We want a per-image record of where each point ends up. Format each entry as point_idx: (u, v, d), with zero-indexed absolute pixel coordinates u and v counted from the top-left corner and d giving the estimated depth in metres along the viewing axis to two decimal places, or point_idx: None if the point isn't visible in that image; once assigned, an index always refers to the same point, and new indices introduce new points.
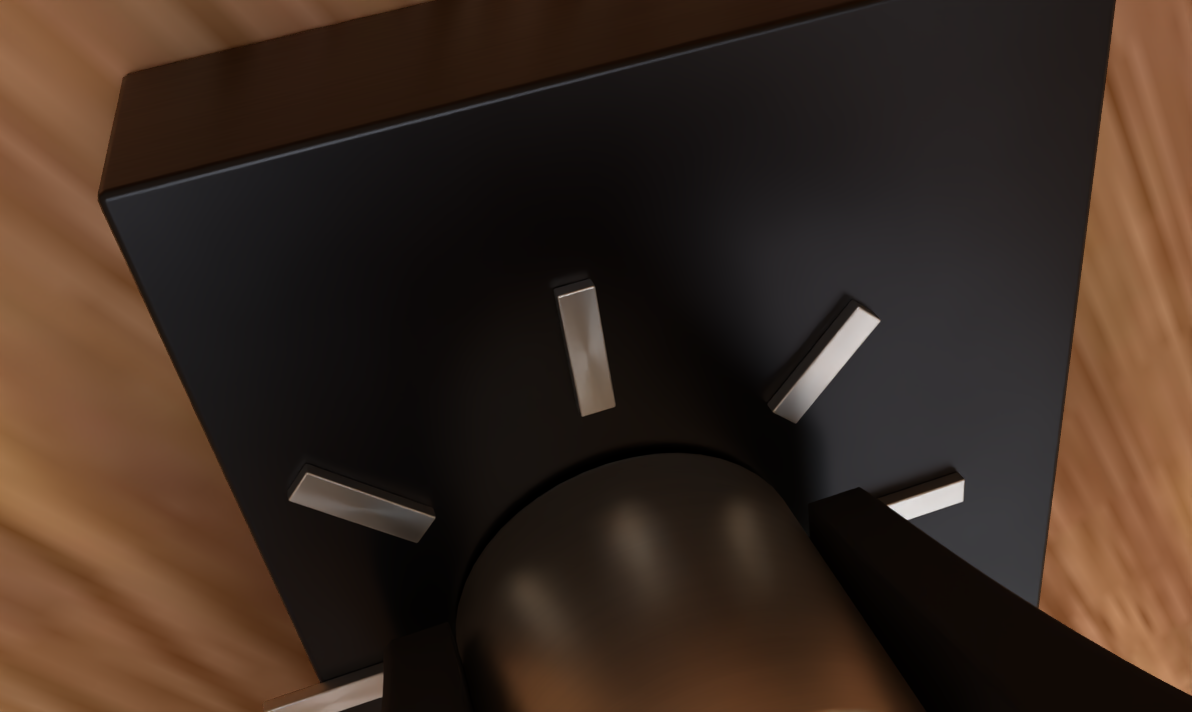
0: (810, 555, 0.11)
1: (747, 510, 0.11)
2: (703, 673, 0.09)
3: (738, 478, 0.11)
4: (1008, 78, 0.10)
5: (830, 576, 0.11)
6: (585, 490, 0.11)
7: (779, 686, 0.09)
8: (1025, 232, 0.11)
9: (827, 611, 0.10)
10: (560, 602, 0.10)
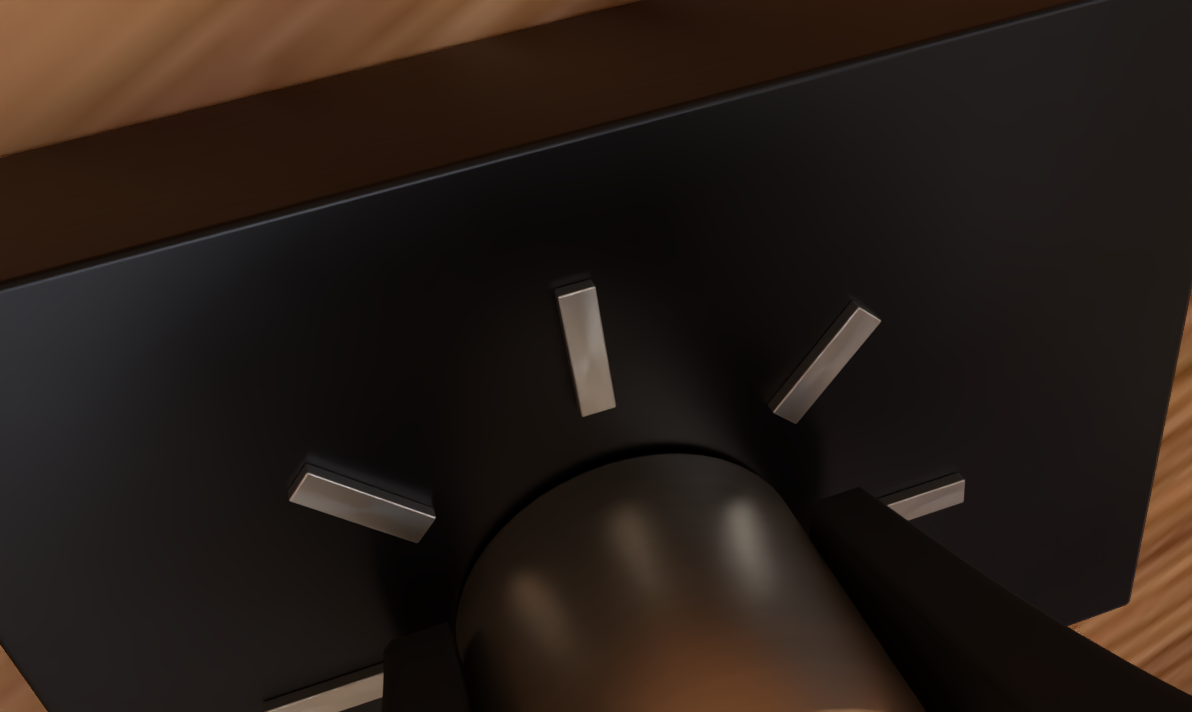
0: (810, 555, 0.11)
1: (747, 510, 0.11)
2: (704, 673, 0.09)
3: (738, 479, 0.11)
4: None
5: (830, 576, 0.11)
6: (586, 490, 0.11)
7: (779, 685, 0.09)
8: (193, 323, 0.09)
9: (825, 611, 0.10)
10: (561, 602, 0.10)
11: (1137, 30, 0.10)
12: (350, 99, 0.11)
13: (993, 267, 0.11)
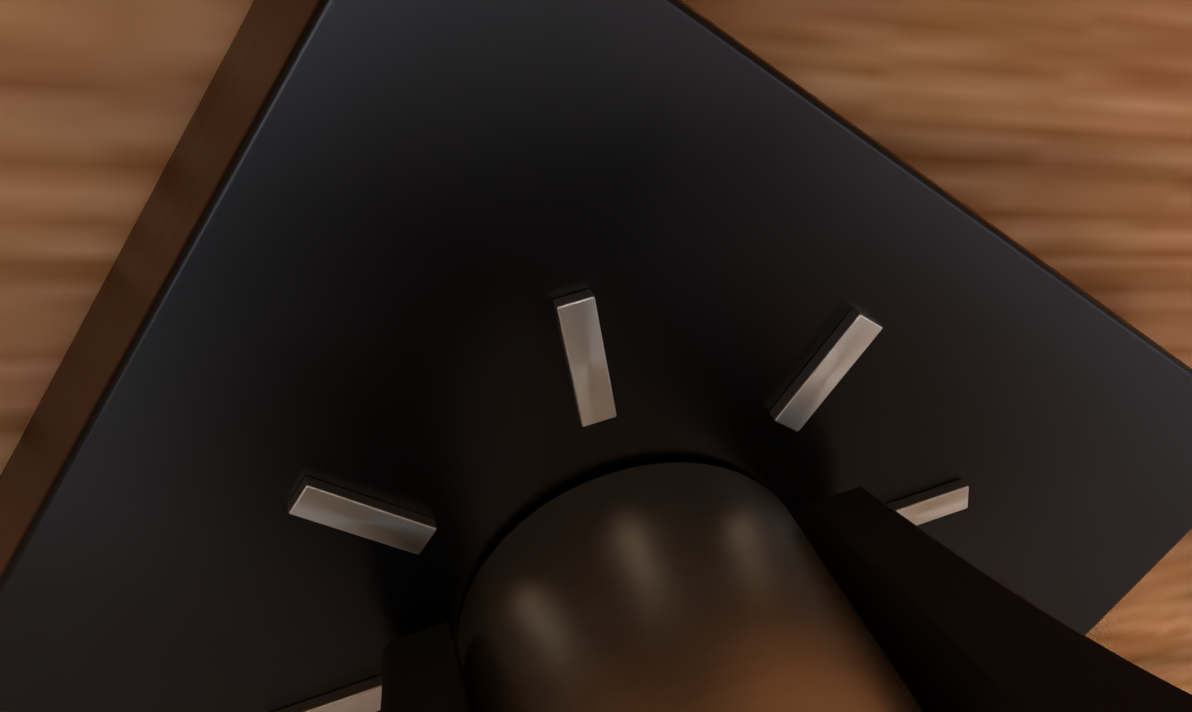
0: (812, 564, 0.11)
1: (748, 519, 0.11)
2: (705, 686, 0.09)
3: (739, 487, 0.11)
4: (468, 35, 0.08)
5: (833, 585, 0.11)
6: (586, 501, 0.11)
7: (780, 698, 0.09)
8: (663, 107, 0.09)
9: (828, 623, 0.10)
10: (561, 614, 0.10)
11: None
12: None
13: (1032, 525, 0.14)
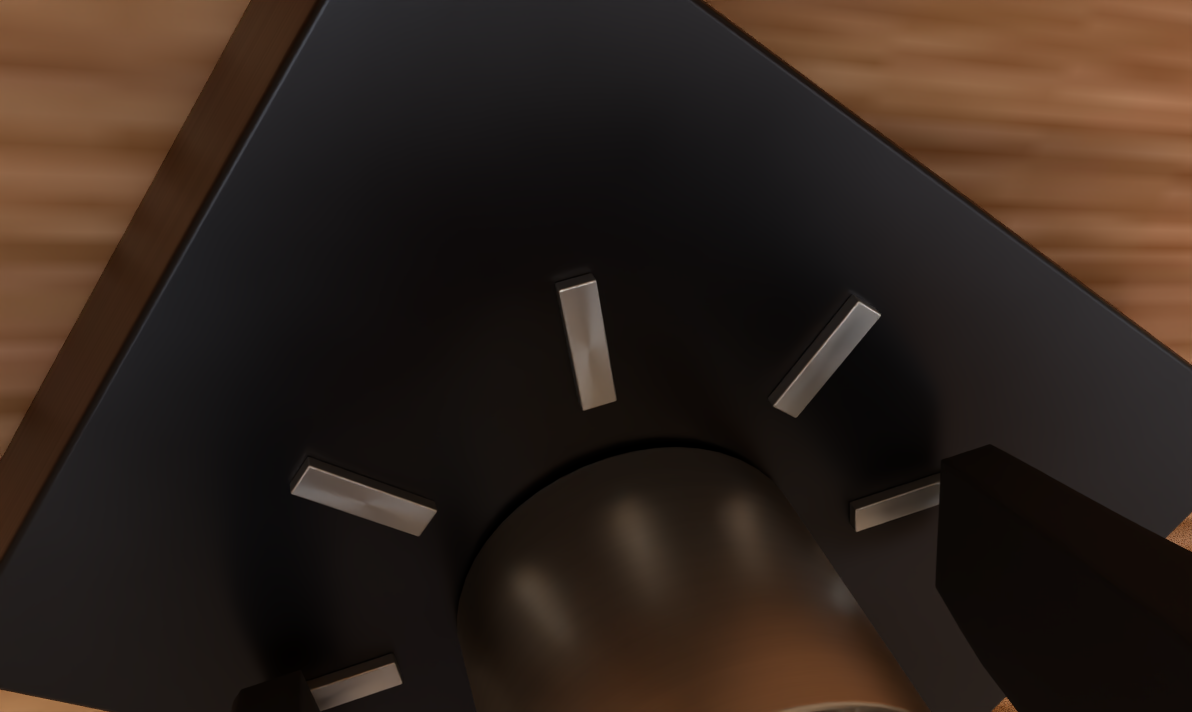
0: (809, 548, 0.11)
1: (746, 503, 0.11)
2: (702, 665, 0.09)
3: (737, 472, 0.11)
4: (474, 18, 0.08)
5: (829, 569, 0.11)
6: (585, 484, 0.11)
7: (777, 677, 0.09)
8: (666, 91, 0.09)
9: (825, 604, 0.10)
10: (560, 595, 0.10)
11: None
12: None
13: None
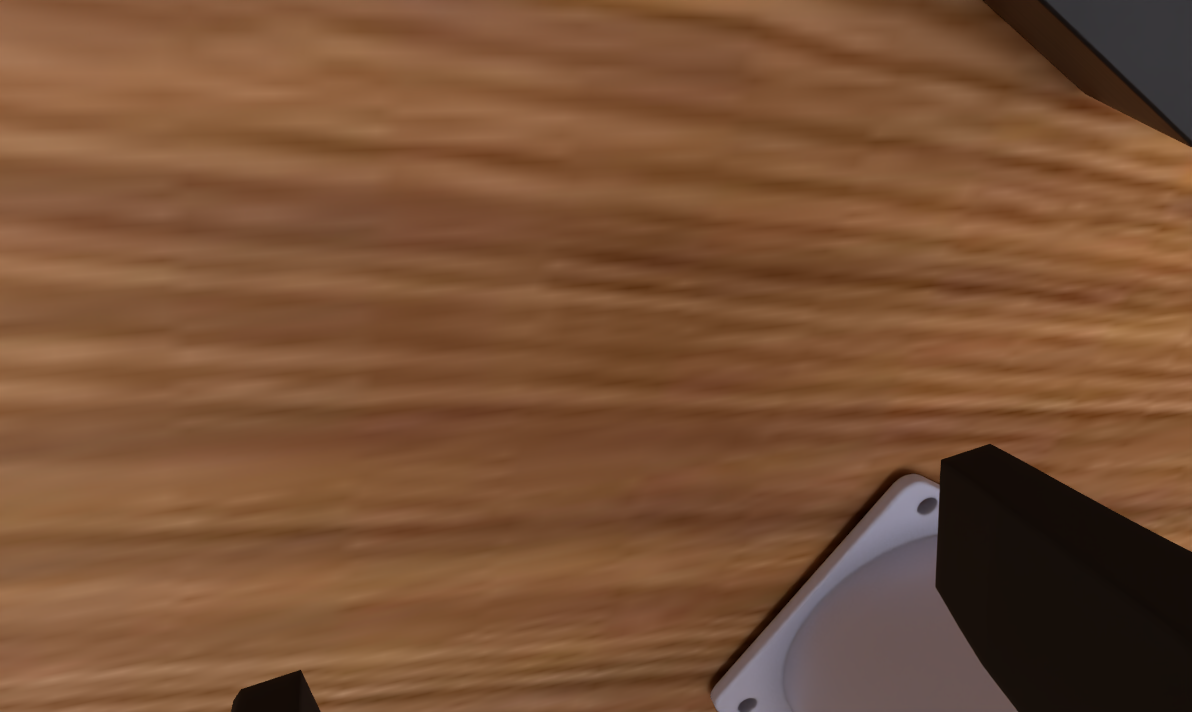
0: None
1: None
2: None
3: None
4: None
5: None
6: None
7: None
8: None
9: None
10: None
11: None
12: None
13: None
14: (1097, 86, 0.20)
